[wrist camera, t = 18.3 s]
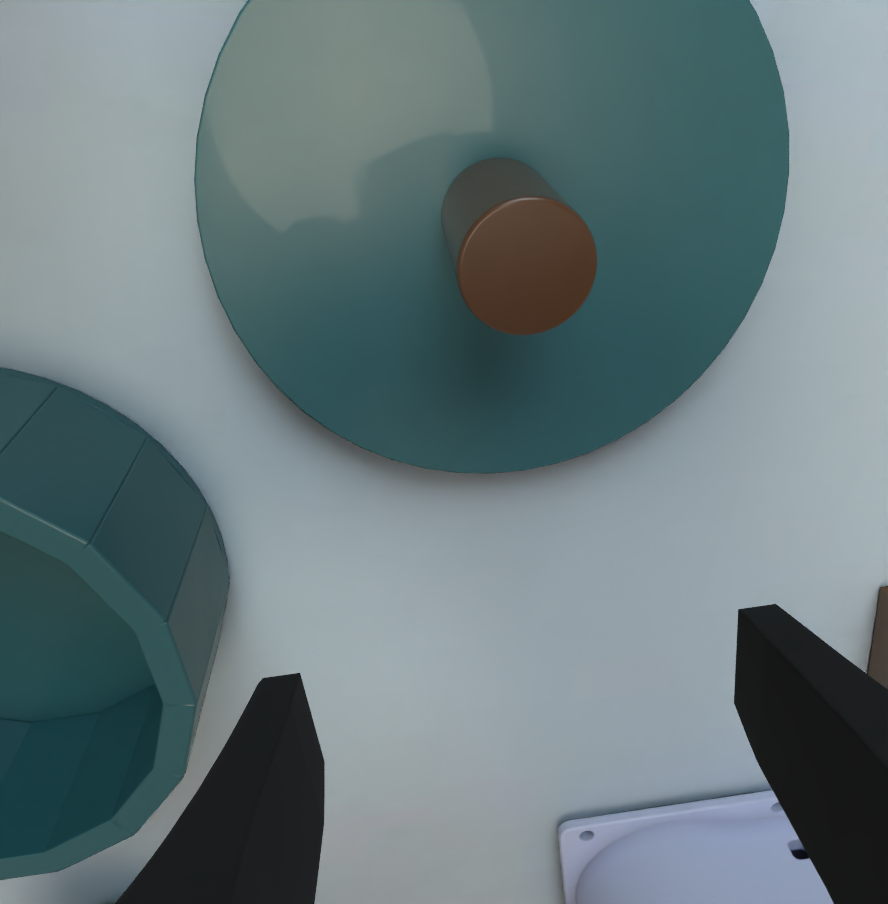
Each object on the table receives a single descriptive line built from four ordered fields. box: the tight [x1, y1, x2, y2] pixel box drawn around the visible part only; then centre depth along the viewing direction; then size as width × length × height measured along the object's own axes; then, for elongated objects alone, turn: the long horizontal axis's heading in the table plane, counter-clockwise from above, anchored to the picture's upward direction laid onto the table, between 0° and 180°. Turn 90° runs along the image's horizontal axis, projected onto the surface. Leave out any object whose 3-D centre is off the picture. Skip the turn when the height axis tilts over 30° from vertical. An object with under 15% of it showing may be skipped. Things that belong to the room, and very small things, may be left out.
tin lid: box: [194, 0, 789, 473], centre depth 18 cm, size 14×14×6 cm
